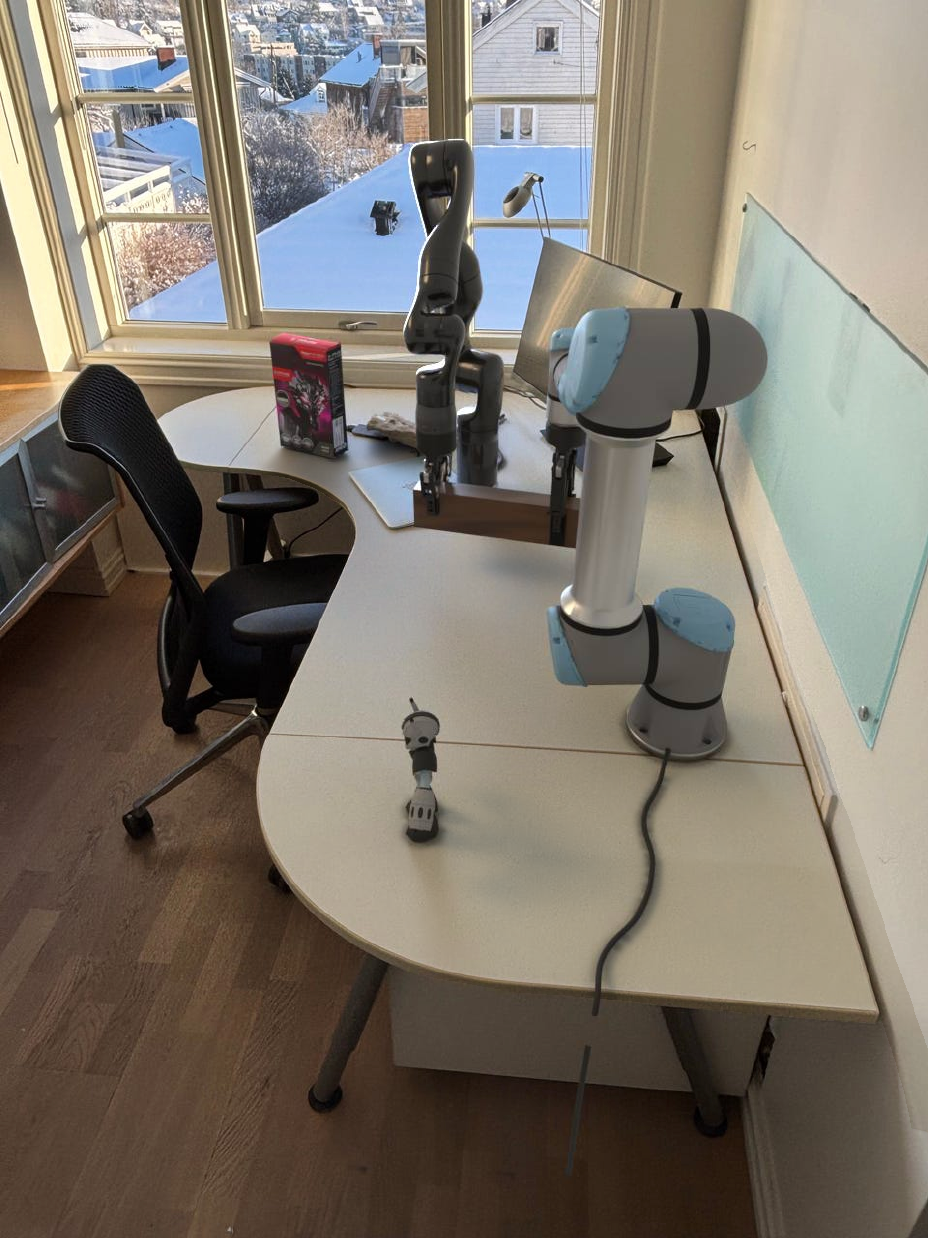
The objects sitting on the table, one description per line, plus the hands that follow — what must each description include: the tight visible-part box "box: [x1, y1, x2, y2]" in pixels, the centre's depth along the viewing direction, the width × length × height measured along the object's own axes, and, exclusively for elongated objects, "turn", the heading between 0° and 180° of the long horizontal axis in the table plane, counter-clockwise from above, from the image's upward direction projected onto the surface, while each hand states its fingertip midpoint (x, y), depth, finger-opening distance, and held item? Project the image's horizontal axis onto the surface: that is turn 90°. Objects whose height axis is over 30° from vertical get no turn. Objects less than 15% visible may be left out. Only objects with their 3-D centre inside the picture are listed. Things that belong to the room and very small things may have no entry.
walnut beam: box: [412, 479, 581, 550], centre depth 174 cm, size 5×32×8 cm, turn 75°
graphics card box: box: [268, 332, 349, 459], centre depth 224 cm, size 17×7×27 cm, turn 62°
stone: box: [365, 411, 417, 449], centre depth 234 cm, size 21×15×6 cm
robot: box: [400, 697, 441, 843], centre depth 121 cm, size 20×5×20 cm, turn 3°
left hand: (437, 507), depth 177 cm, fingers closed on walnut beam, 5 cm apart
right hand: (559, 537), depth 174 cm, fingers closed on walnut beam, 5 cm apart
